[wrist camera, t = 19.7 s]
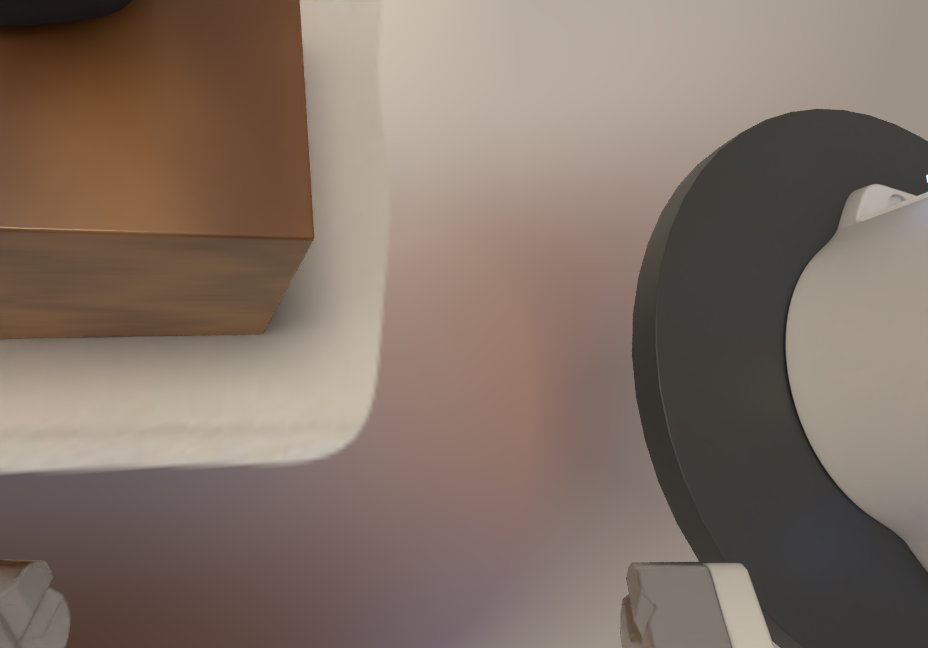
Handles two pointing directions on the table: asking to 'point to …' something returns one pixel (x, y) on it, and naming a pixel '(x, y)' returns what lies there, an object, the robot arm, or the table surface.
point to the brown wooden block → (153, 170)
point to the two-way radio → (55, 11)
